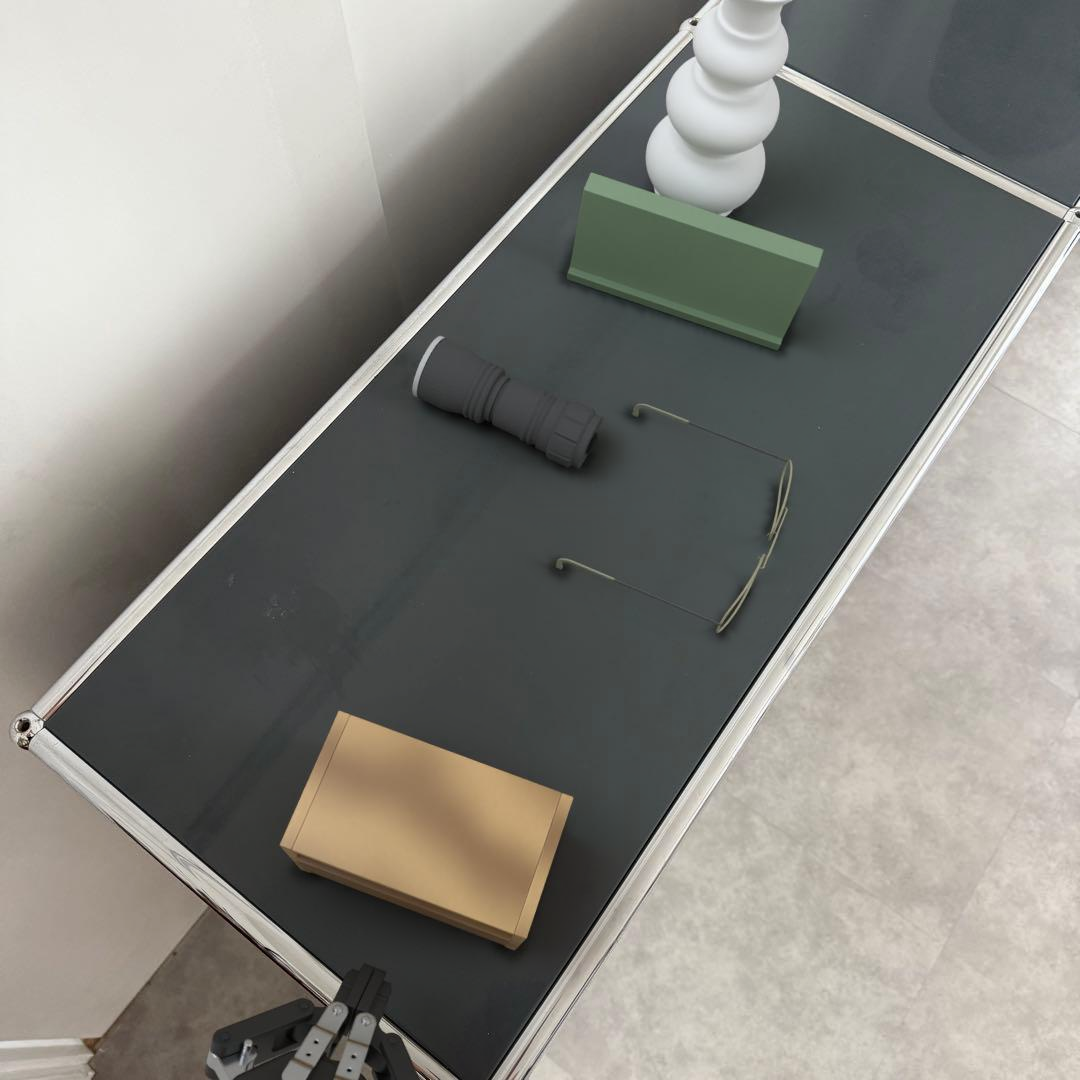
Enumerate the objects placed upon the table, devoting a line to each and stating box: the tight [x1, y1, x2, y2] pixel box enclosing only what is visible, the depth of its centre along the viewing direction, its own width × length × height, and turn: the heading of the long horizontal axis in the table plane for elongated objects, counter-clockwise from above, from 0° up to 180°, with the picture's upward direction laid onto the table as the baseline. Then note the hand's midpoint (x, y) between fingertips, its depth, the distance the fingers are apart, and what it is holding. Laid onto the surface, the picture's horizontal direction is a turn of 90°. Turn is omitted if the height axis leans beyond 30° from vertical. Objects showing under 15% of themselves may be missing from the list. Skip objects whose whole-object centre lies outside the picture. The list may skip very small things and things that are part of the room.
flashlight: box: [411, 335, 604, 469], centre depth 90 cm, size 15×5×5 cm, turn 64°
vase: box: [645, 0, 794, 217], centre depth 93 cm, size 11×11×25 cm
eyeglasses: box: [555, 403, 793, 634], centre depth 88 cm, size 16×15×5 cm
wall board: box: [566, 172, 824, 352], centre depth 95 cm, size 5×20×11 cm, turn 71°
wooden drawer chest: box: [279, 710, 574, 951], centre depth 73 cm, size 9×16×11 cm, turn 71°
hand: (371, 977), depth 66 cm, fingers closed
